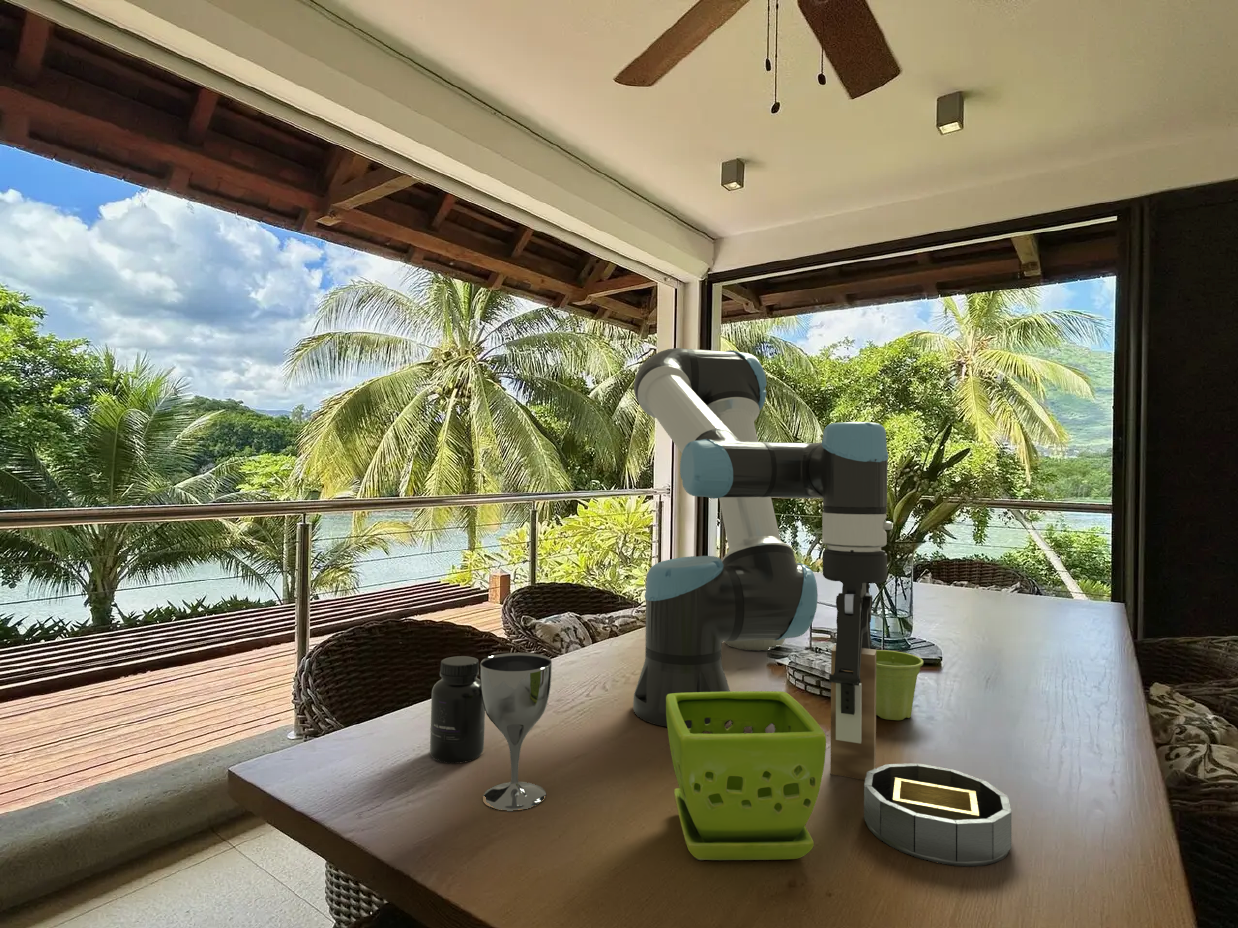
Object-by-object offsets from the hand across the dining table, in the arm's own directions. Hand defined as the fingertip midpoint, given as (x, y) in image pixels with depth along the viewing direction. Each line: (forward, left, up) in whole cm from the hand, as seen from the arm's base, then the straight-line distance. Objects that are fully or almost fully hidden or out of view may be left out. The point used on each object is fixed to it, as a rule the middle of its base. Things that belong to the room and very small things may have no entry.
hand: (854, 722), depth 85 cm
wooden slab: (0, 0, -6) cm, 6 cm away
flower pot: (-9, -21, -7) cm, 24 cm away
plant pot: (+3, +25, -6) cm, 26 cm away
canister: (-26, +59, -6) cm, 65 cm away
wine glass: (-34, -23, -6) cm, 42 cm away
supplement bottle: (-47, -16, -6) cm, 50 cm away
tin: (+9, -11, -6) cm, 15 cm away
